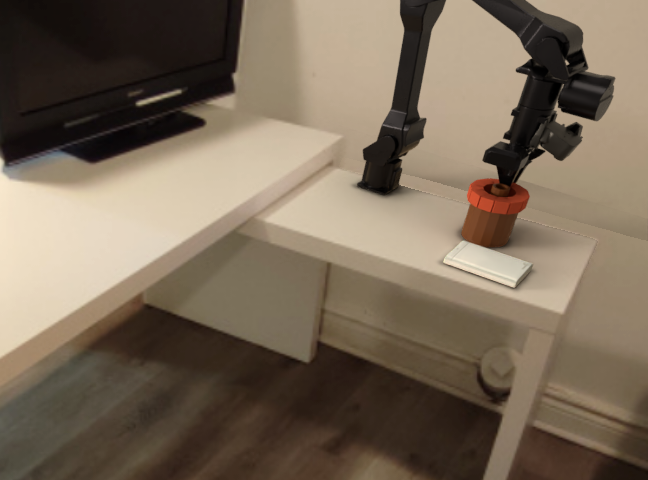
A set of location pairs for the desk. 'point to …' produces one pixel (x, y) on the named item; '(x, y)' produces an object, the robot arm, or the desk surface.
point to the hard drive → (488, 263)
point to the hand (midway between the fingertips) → (506, 189)
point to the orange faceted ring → (494, 204)
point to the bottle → (489, 223)
